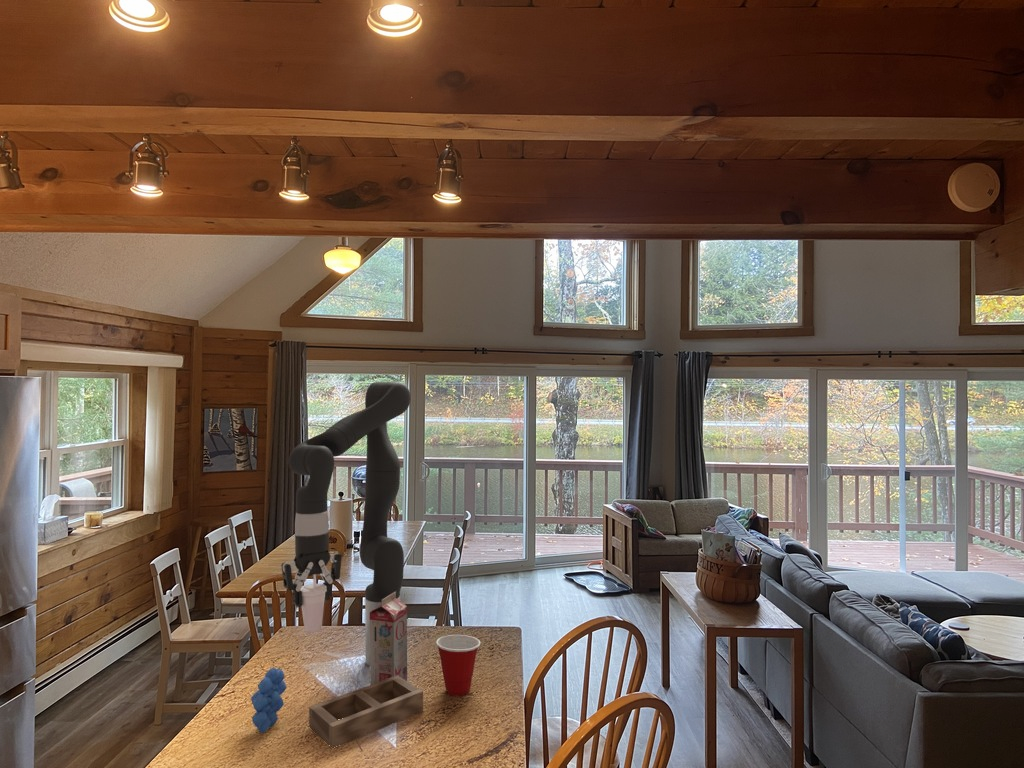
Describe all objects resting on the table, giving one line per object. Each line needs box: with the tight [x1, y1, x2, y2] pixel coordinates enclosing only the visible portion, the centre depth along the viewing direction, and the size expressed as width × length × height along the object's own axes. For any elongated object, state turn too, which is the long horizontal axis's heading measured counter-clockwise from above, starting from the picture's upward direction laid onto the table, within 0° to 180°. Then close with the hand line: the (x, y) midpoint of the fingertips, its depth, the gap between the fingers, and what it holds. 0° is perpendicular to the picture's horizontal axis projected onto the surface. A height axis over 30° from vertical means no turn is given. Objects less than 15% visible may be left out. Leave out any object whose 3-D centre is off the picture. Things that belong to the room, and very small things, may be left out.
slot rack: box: [308, 675, 424, 749], centre depth 138 cm, size 22×11×4 cm, turn 132°
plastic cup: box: [435, 634, 482, 697], centre depth 151 cm, size 11×11×12 cm
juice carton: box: [369, 592, 408, 685], centre depth 154 cm, size 7×7×22 cm
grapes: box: [250, 667, 287, 734], centre depth 135 cm, size 12×7×12 cm, turn 173°
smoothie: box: [301, 574, 327, 633], centre depth 145 cm, size 6×6×14 cm
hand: (312, 602), depth 145 cm, fingers closed on smoothie, 6 cm apart
